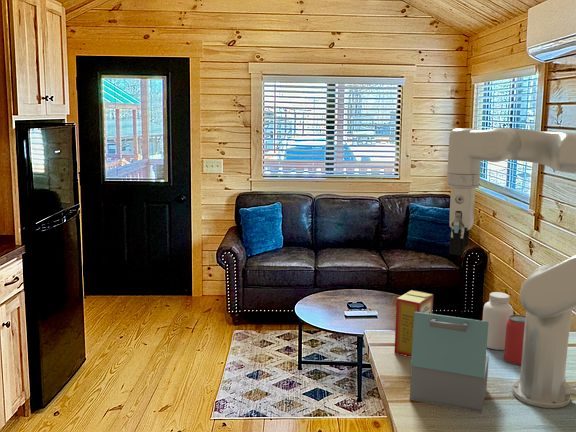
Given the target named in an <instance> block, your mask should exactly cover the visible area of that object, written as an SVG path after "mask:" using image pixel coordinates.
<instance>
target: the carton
mask: <svg viewBox="0 0 576 432" xmlns="http://www.w3.org/2000/svg"><path fill="white" fill-rule="evenodd" d="M489 361H490V356H489V355H486V362H485V375H484V378H481V377H475V376H470V375H464V374H458V373H452V372H446V371H440V370H434V369H428V368H422V367H416V366H411V365H410V366H411V367H410V387H409V388H410V389H409V400H411V401H416V402H420V403H426V404H431V405H437V406H441V407H442V406H443V407H447V408H452V409H457V410H462V411H468V412H472V413H473V412H474V413H478V414H483V409H484V404H485V400H486V394H487V387H488V375H489Z"/></svg>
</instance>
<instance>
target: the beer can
mask: <svg viewBox="0 0 576 432" xmlns="http://www.w3.org/2000/svg"><path fill="white" fill-rule="evenodd" d="M525 317H526V315H524V314H513V315H511V316H509V319H508V321H507V324H506V336H505V349H504V351H503V352H504V353H503V359H504V360H505V362H507V363H509V364H512V365H517V366H521V362H522V350H523V338H524V328H525Z"/></svg>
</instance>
